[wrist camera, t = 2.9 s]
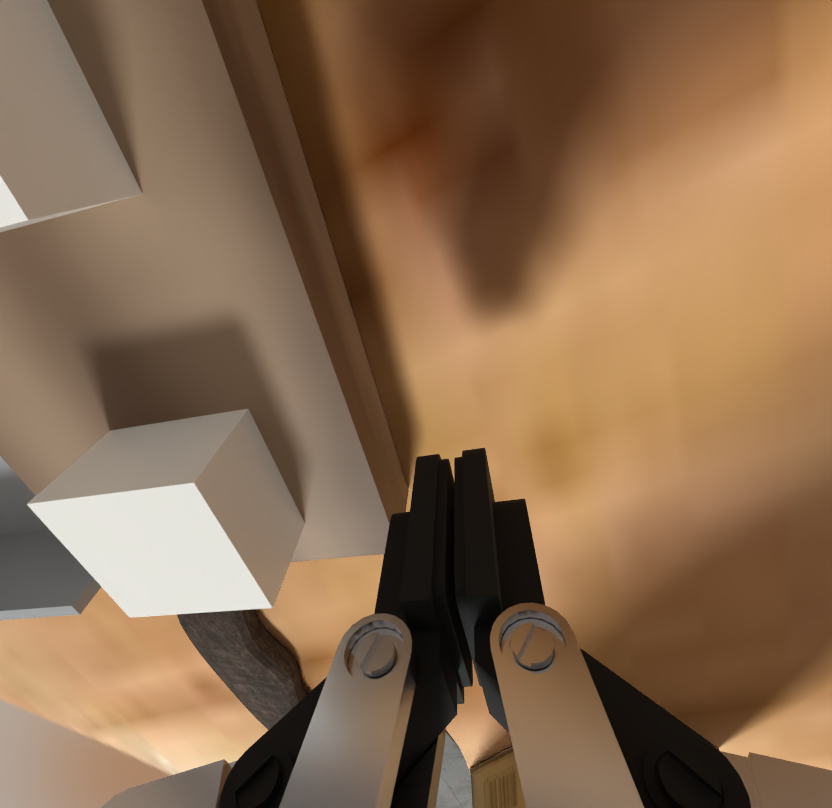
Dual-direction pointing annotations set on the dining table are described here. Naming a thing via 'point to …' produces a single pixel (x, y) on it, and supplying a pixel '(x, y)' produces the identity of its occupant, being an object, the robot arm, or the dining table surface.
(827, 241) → the dining table surface
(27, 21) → the white rectangular block
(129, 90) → the board
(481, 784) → the food packaging
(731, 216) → the dining table surface
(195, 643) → the cleaver
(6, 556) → the tray
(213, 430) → the tile
